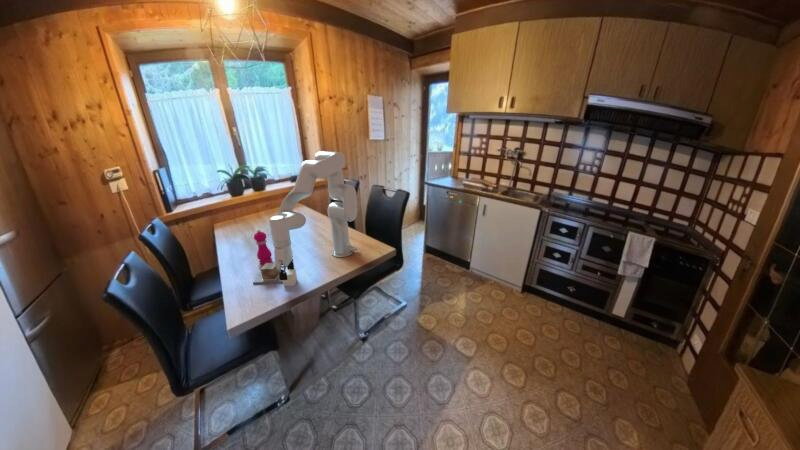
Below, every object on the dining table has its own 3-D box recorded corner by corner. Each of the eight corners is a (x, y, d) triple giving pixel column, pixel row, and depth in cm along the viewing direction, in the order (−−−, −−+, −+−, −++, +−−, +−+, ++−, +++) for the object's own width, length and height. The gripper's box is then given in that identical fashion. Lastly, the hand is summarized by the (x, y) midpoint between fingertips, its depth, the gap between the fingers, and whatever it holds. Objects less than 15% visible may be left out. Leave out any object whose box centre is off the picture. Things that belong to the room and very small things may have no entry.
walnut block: (279, 272, 137) (277, 262, 135) (275, 279, 131) (272, 268, 129) (268, 273, 137) (265, 263, 134) (263, 279, 131) (260, 269, 129)
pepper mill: (258, 266, 145) (250, 233, 138) (259, 260, 151) (251, 228, 144) (272, 263, 148) (265, 230, 140) (273, 258, 154) (266, 226, 147)
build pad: (289, 272, 139) (288, 270, 139) (282, 282, 130) (281, 281, 129) (262, 273, 139) (261, 271, 138) (253, 284, 129) (252, 282, 129)
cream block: (297, 279, 132) (295, 269, 130) (294, 285, 128) (292, 274, 126) (287, 280, 132) (285, 269, 130) (283, 285, 128) (281, 275, 125)
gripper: (280, 235, 130) (286, 265, 136) (265, 250, 113) (272, 284, 119) (296, 234, 130) (300, 265, 136) (283, 250, 114) (289, 284, 120)
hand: (287, 274), depth 128 cm, fingers open, 9 cm apart
